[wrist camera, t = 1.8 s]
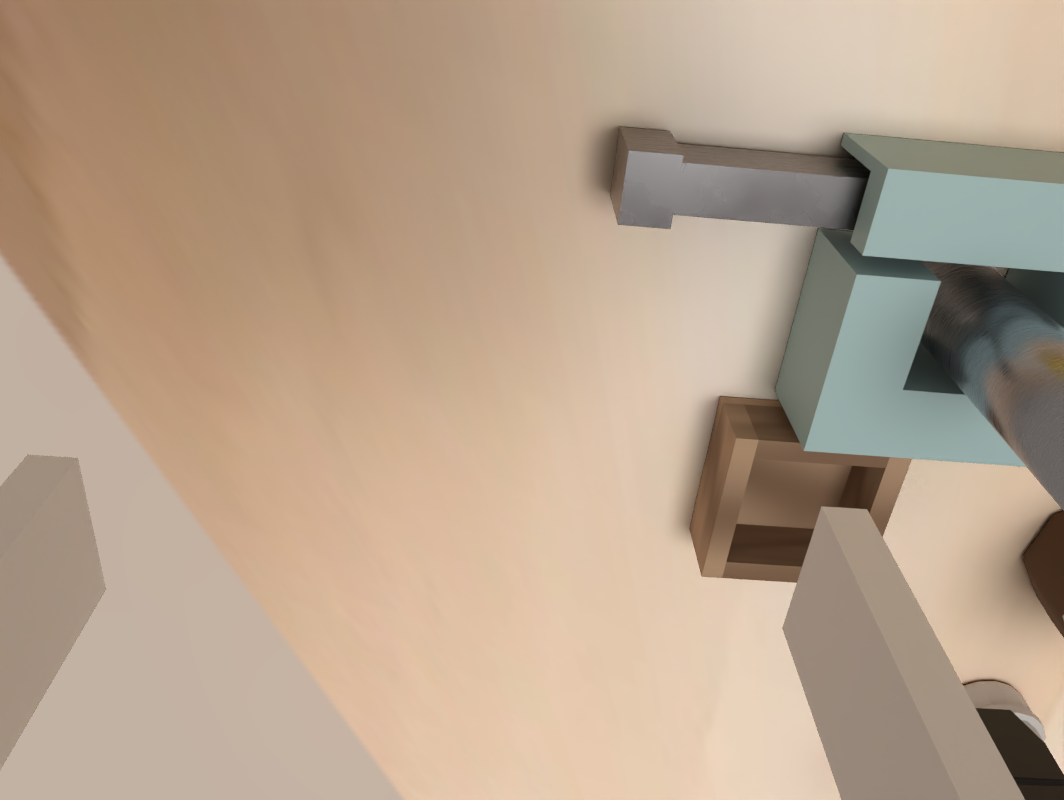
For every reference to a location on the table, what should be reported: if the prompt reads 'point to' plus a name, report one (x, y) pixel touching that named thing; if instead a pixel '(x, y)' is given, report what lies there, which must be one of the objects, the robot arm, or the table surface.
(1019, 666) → the table surface
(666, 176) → the block
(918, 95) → the table surface
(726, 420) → the brown wooden tray
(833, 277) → the chuck block
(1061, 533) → the beer bottle
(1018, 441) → the cylinder
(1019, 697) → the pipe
